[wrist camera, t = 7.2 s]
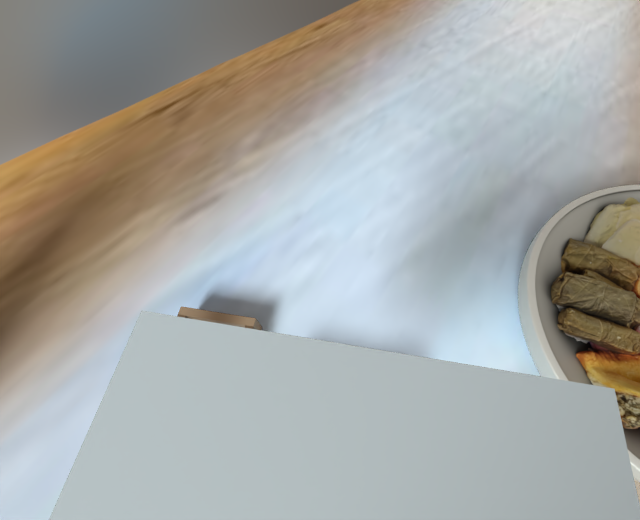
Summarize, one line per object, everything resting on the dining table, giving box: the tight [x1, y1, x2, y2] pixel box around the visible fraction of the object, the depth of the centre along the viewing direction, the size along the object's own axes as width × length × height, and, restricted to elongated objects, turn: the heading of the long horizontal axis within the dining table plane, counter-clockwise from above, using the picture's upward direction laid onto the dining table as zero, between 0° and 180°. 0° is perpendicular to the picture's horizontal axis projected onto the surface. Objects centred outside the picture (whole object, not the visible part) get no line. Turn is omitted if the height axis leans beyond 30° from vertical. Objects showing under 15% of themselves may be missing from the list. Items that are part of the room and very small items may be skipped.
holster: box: [177, 307, 262, 330], centre depth 32 cm, size 8×8×3 cm
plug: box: [49, 311, 640, 520], centre depth 8 cm, size 5×5×14 cm
